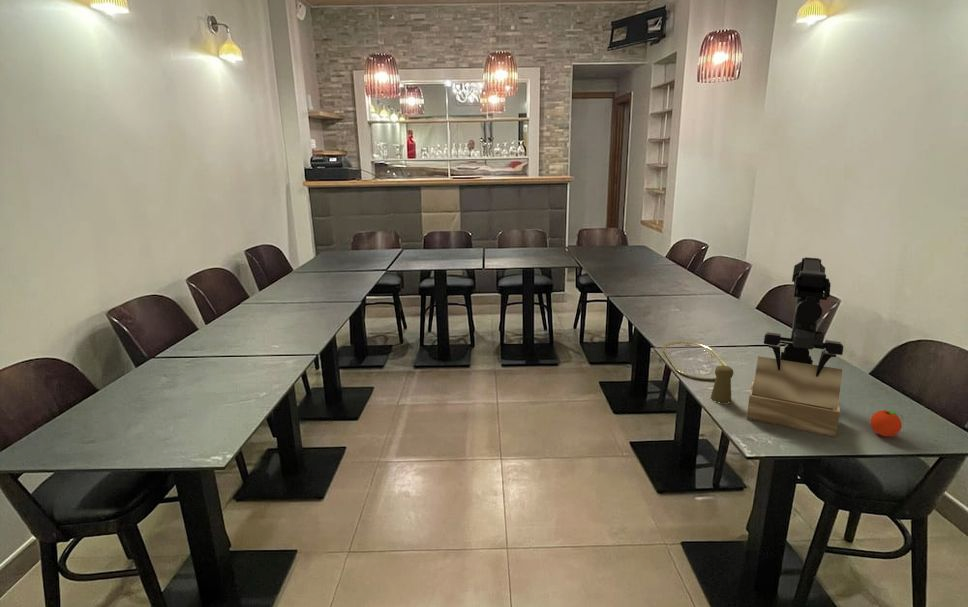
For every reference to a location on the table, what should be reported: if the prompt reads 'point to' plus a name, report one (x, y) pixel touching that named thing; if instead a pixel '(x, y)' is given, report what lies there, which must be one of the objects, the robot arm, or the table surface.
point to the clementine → (886, 423)
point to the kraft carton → (793, 414)
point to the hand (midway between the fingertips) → (797, 373)
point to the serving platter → (695, 344)
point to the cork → (722, 384)
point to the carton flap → (797, 382)
